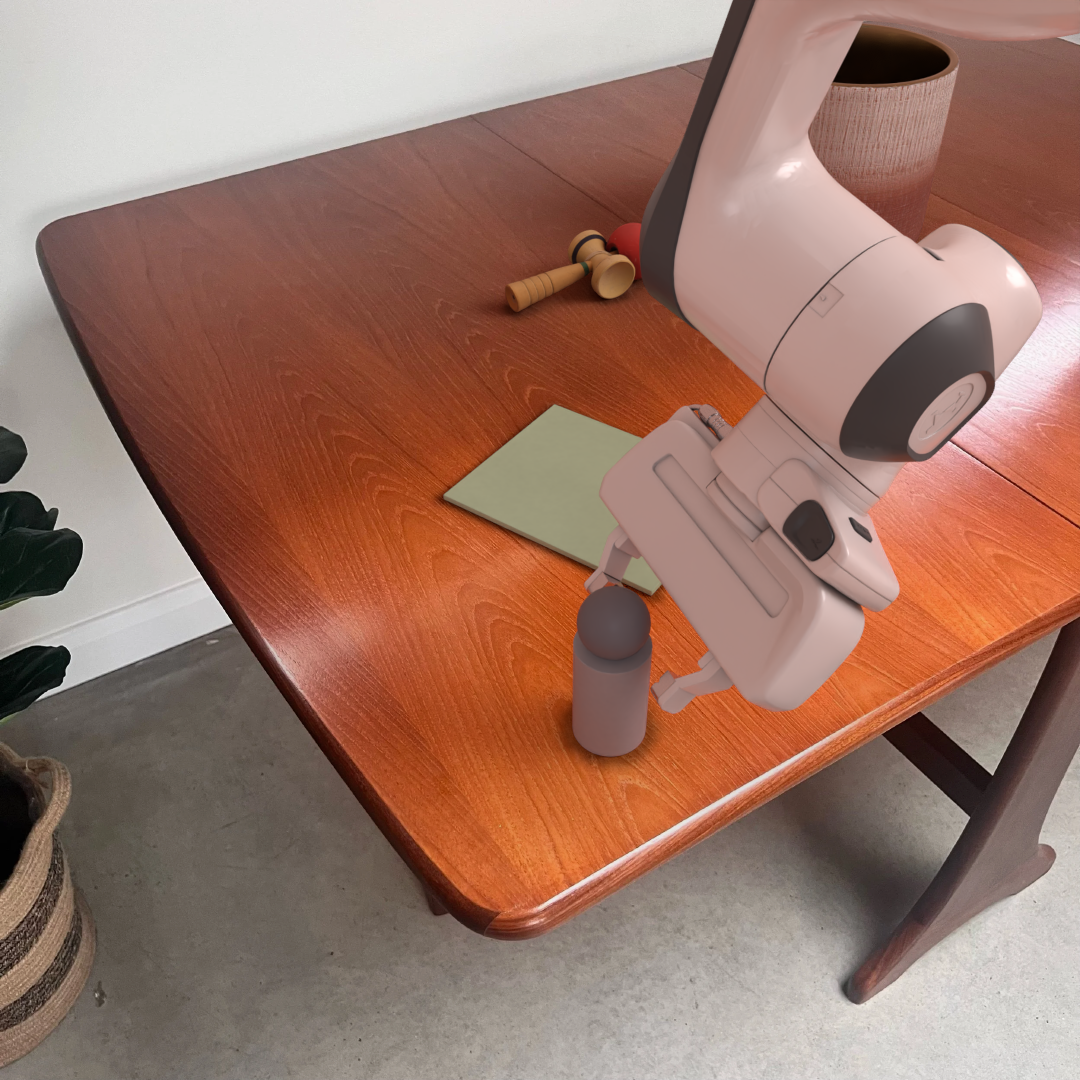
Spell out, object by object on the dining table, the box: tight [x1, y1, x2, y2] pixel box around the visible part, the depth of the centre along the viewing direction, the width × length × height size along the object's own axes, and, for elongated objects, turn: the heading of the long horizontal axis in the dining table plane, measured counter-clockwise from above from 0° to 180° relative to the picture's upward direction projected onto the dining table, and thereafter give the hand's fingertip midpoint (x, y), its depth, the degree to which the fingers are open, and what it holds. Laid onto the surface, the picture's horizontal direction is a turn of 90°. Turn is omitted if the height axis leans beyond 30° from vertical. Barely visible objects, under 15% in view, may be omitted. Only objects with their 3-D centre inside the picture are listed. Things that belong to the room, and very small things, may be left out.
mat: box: [443, 403, 663, 596], centre depth 86 cm, size 20×16×1 cm
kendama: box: [504, 222, 642, 313], centre depth 111 cm, size 8×6×18 cm
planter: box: [808, 22, 960, 244], centre depth 115 cm, size 22×22×20 cm
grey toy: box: [572, 586, 654, 757], centre depth 64 cm, size 5×5×12 cm
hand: (626, 647), depth 64 cm, fingers open, 8 cm apart
